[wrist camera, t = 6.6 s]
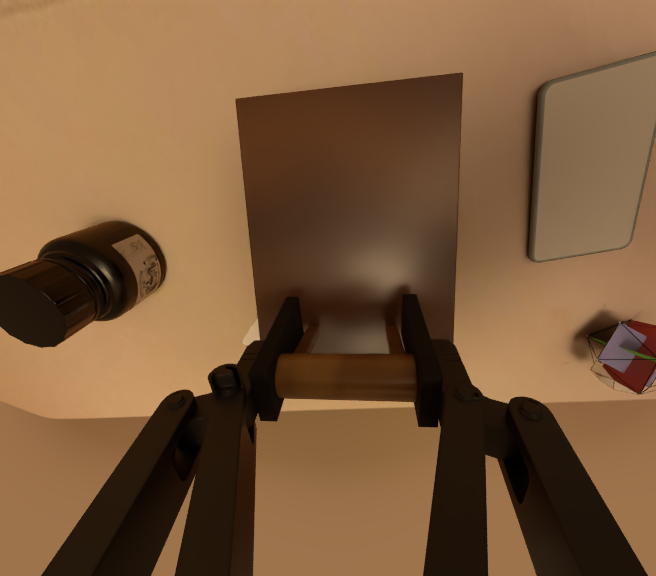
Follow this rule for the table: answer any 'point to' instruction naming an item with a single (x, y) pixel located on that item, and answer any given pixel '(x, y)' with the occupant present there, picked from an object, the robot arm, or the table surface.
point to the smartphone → (592, 158)
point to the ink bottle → (79, 283)
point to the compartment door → (353, 227)
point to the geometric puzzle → (628, 357)
